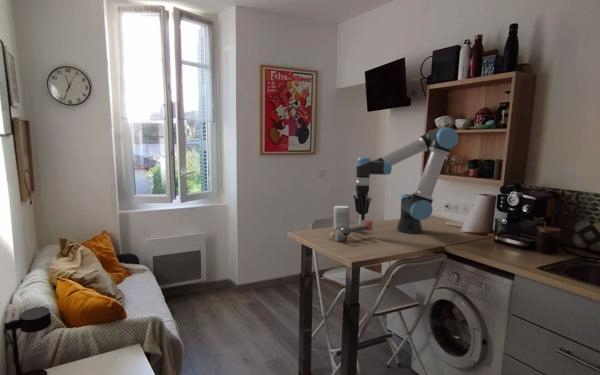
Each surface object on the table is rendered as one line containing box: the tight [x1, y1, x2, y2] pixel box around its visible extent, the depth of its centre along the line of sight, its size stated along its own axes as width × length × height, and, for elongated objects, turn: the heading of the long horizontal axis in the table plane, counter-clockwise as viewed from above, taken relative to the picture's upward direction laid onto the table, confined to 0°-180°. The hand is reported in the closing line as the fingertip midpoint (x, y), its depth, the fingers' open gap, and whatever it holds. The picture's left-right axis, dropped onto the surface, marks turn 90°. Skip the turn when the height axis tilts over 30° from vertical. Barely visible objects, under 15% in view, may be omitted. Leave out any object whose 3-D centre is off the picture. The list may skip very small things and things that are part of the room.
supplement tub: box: [333, 205, 350, 230], centre depth 216 cm, size 10×10×15 cm
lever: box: [335, 220, 373, 241], centre depth 190 cm, size 24×5×8 cm, turn 123°
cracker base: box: [326, 232, 383, 248], centre depth 189 cm, size 23×20×2 cm
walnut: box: [329, 231, 339, 241], centre depth 189 cm, size 5×5×4 cm
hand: (361, 224), depth 203 cm, fingers closed
